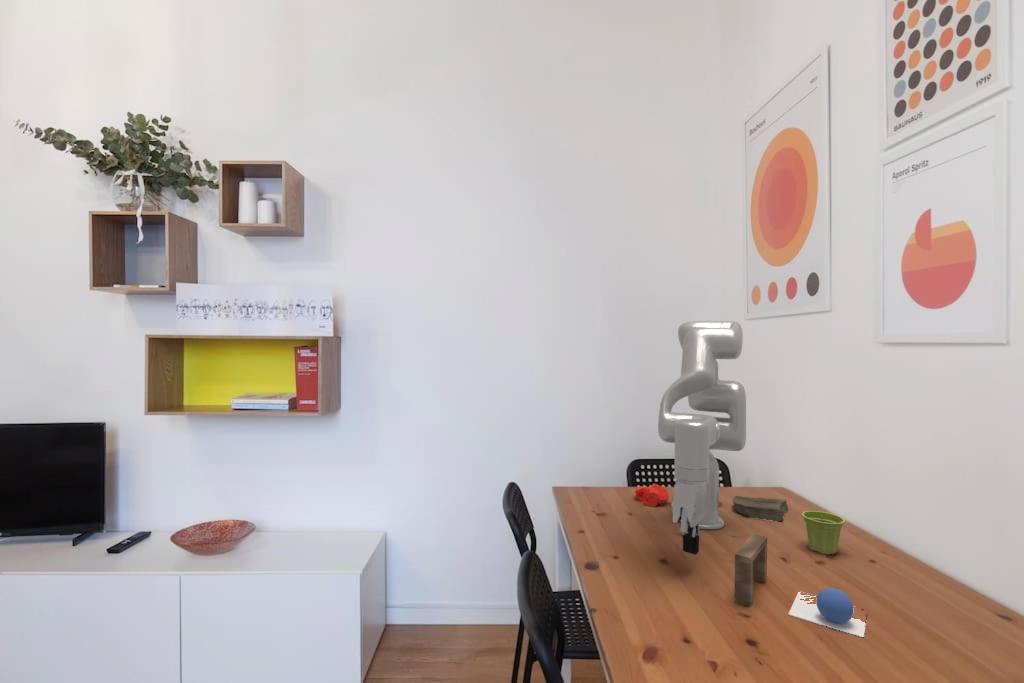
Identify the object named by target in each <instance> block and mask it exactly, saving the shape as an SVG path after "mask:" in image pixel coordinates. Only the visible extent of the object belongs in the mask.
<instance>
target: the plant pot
mask: <svg viewBox="0 0 1024 683" xmlns="http://www.w3.org/2000/svg"><path fill="white" fill-rule="evenodd" d="M801 515H802V517H803V520H804V522H805V527H806V533H807V534H806V535H807V540H808V548H809V549H810V550H811V551H814V552H818V553H819V554H821V553H822V555H829V554H832V555H834V554H837V553H838V552H837V551H838V546H839V541H840V535H841V530H842V528H843V527H844V526H843V525H844V524H845V522H846V520H845V519H844V518H843V517H841V516H839V515H837V514H834V513H831V512H826V511H820V510H819V511H818V510H806V511H803V512H802V513H801Z"/></svg>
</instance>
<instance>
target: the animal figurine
mask: <svg viewBox="0 0 1024 683" xmlns="http://www.w3.org/2000/svg"><path fill="white" fill-rule="evenodd" d="M667 490H668V489H666V488H665V487H664V486H662V485H659V484H657V483H652V485H650V486H649V487H645V485H641V486H639V487H638V486H637V487H636V488H635V489H634V493H635V495H634V497H635V498H636V499H638V500H639V501H641V503H642V504H643V505H646V506H650V507H655V506H657V505H661V504H665V503H667V502H668V501H669V499H670V495H669V493H668V491H667Z"/></svg>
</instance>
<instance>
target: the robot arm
mask: <svg viewBox="0 0 1024 683" xmlns="http://www.w3.org/2000/svg"><path fill="white" fill-rule="evenodd" d="M677 337H678V341H679V344H680V348H681V349H682V356H681V367H680V369H681V370H680V377H679V378H678V379H676V380H675V381H673V383H672V384H670V386H669V387H668V388H667V389H666V390H665V392H664V394H663V395H662V398H661V401H660V405H659V411H658V412H659V414H658V421H657V433H658V436H659V438H660V439H661V441H663V442H666V443H670V444H674V475H673V476H674V479H675V480H676V481H675V486H674V492H673V501H672V502H671V503H670V507H671V510H672V522H673V524H675V525H677V524H678V523H679V522H680V533H681V534H682V551H683V552H685V553H688V554H691V555H698V553H699V552H700V535H699V534H700V529H701V530H718V529H722V528H723V527H724V525H725V521H724V519H723V518H721V517H720V516H719V497H720V496H719V493H720V492H719V490H720V486H719V485H720V484H719V483H720V481H719V480H720V476H719V475H720V465H719V463H718V460H717V458H716V457H715V455H714V454H713V453H712V452H711V450H713V451H714V450H719V451H726V452H727V451H728V452H730V451H731V452H741V451H742V450H743V449H744V448H745V447H746V446H745V445H746V442H747V397H746V395H747V394H746V390H745V387H744V385H743V384H742V383H740V382H739V381H735V380H724V379H723V380H720V379H719V363H718V361H717V360H736V359H738V358H739V357H740V356H741V354H742V349H743V339H744V338H743V328H742V325H741V324H740V323H739V322H737V321H735V320H734V321H733V320H714V321H713V320H712V321H711V320H700V321H699V320H695V321H687V322H683V323H681V324H680V325H679V326H678V330H677ZM686 397H687V401H688V402H687V403H688V405H689V408H690V409H692V410H694V411H697V412H698V411H699V412H707V413H719V414H720V413H721V414H727V415H728V416H729V417H720V416H712V415H709V414H700V413H687V412H672V410H673V407H674V405H676V404H677V402H679V401H680V400H681V399H684V398H686Z"/></svg>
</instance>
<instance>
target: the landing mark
mask: <svg viewBox="0 0 1024 683" xmlns="http://www.w3.org/2000/svg"><path fill="white" fill-rule="evenodd" d="M801 592H803V591H800V592H799V591H798V592H797V595H796V596H795V599H794V600H793V603H792V605H791V607H790V610H789V612H788V616H791V617H793V618H796V619H800V620H804V621H807V622H809V623H813V624H815V625H816V624H817V625H820V626H822V625H823V626H822V627H826V626H827V628H830V629H832V628H833V630H835V629H836V631H839V630H840V631H839V632H842V631H843V633H845V632H846V634H848V633H849V634H848V635H852V634H853V635H852V636H855V635H856V636H855V637H858V636H859V637H858V638H861V637H864V638H865V634H864V633H865V632H866V627H865V626H867V622H866V623H865V622H862V621H861V620H860V619H854V618H851V619H850V620H849V621H847V622H845V623H834V622H831V621H829V620H827V619H826V618H825V617H823V616H822V614H821V613H820V612H819V610H818V608H817V604H807V603H810V602H813V601H812V600H814V599H809V600H810V601H804V600H805V599H806V598H811V597H816V596H817V595H815V596H810V595H801V594H800V593H801ZM803 593H805V592H803ZM804 596H810V597H804ZM800 599H804V600H800Z"/></svg>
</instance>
